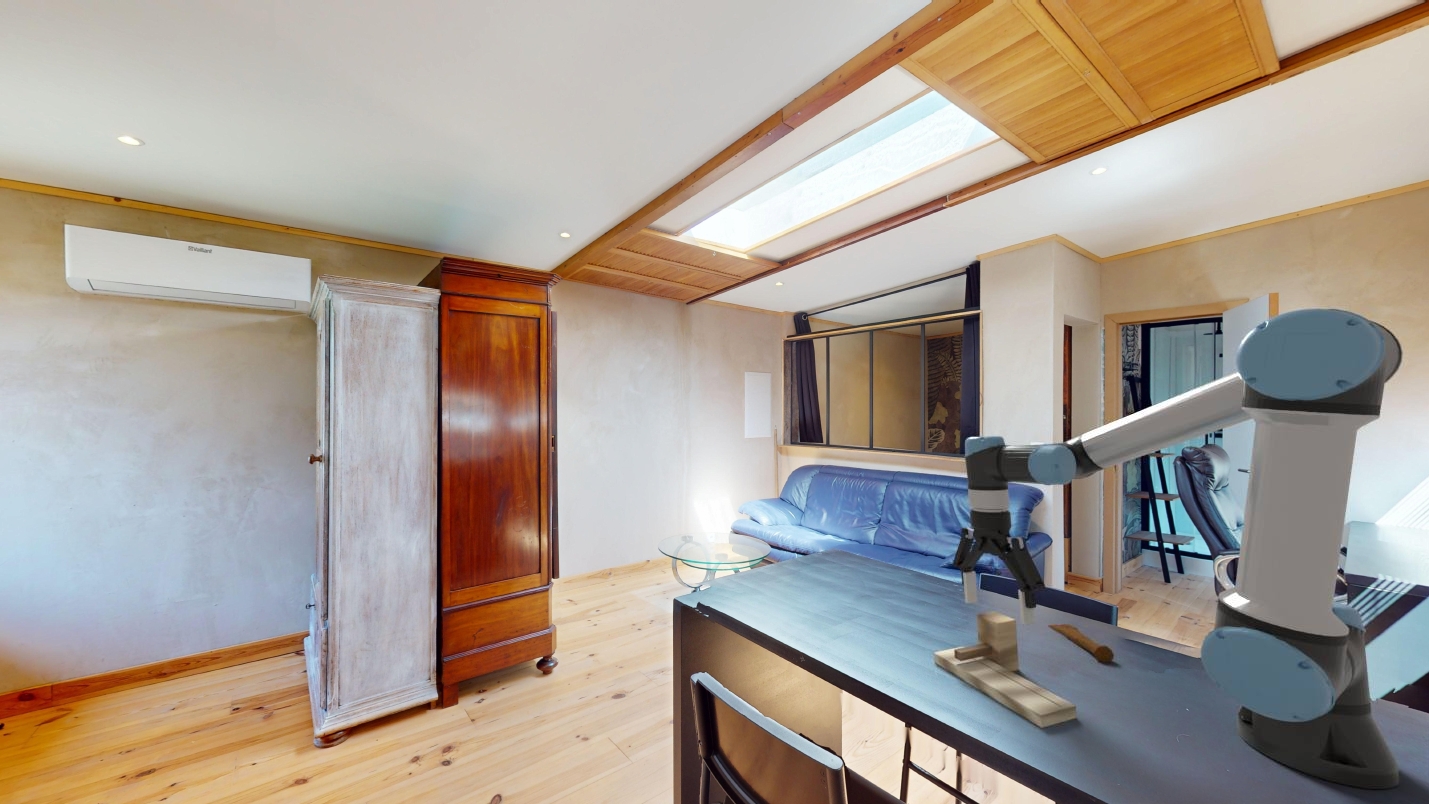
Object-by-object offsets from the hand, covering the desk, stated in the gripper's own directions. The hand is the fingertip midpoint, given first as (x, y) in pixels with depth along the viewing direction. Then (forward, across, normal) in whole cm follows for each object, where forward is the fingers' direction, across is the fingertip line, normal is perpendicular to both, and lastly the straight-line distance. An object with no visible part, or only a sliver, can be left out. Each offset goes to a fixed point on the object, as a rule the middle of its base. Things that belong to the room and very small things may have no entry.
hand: (998, 612), depth 100 cm
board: (+11, -5, +7) cm, 14 cm away
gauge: (+11, +1, +4) cm, 12 cm away
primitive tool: (+12, +3, -26) cm, 29 cm away
